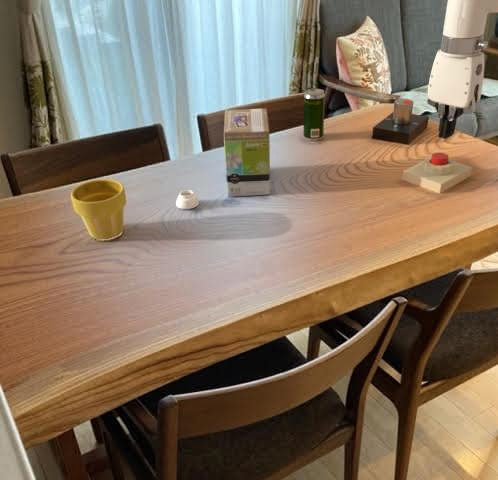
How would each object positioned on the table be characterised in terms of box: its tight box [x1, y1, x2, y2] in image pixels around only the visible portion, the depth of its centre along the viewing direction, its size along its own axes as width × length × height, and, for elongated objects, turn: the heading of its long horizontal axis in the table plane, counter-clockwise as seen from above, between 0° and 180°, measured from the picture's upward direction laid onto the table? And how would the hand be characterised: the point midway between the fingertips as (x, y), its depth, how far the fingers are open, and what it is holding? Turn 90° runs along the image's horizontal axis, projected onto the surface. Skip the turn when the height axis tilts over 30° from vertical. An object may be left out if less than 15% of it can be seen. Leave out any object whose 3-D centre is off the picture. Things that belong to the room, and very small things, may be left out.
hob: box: [371, 111, 430, 146], centre depth 145 cm, size 14×10×3 cm
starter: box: [401, 155, 473, 194], centre depth 122 cm, size 12×10×4 cm
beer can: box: [302, 88, 326, 142], centre depth 142 cm, size 5×5×12 cm
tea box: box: [223, 108, 271, 197], centre depth 122 cm, size 15×10×15 cm, turn 1°
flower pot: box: [70, 178, 127, 242], centre depth 108 cm, size 10×10×10 cm
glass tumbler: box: [392, 98, 415, 125], centre depth 142 cm, size 5×5×6 cm
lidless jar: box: [175, 189, 200, 210], centre depth 118 cm, size 5×3×5 cm
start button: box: [431, 152, 450, 166], centre depth 121 cm, size 4×4×2 cm
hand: (445, 136), depth 117 cm, fingers closed
